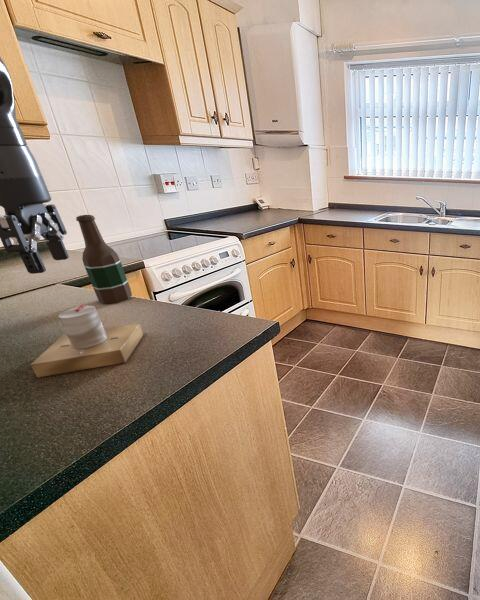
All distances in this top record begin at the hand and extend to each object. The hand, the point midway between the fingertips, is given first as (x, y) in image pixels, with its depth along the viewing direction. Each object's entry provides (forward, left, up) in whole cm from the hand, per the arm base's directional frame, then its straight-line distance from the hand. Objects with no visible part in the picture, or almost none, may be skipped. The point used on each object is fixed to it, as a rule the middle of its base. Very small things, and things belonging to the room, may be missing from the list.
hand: (50, 265), depth 64 cm
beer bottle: (-6, +33, -20) cm, 39 cm away
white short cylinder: (+1, -1, -16) cm, 17 cm away
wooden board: (+1, -1, -20) cm, 20 cm away
